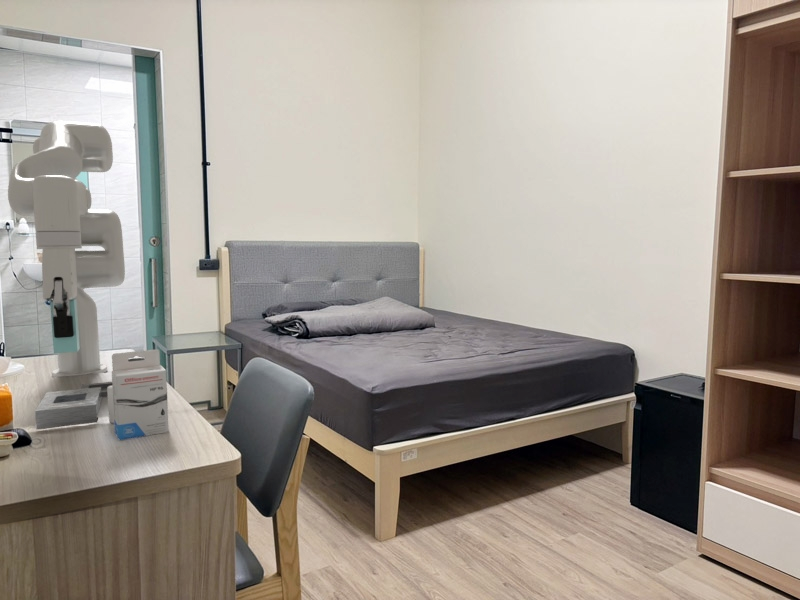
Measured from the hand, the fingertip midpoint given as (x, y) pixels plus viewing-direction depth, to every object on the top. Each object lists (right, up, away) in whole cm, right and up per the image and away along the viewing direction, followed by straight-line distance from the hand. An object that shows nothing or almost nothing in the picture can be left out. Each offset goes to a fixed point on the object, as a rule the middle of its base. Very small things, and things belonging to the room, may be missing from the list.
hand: (65, 334), depth 114 cm
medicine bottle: (+14, -17, -1) cm, 22 cm away
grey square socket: (-1, -15, +16) cm, 22 cm away
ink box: (+19, -18, -8) cm, 27 cm away
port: (0, -16, +2) cm, 16 cm away
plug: (0, -3, 0) cm, 3 cm away
